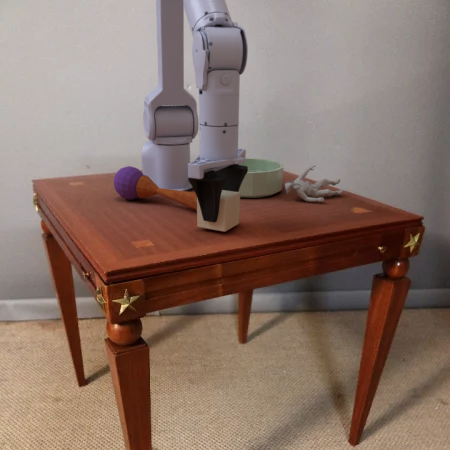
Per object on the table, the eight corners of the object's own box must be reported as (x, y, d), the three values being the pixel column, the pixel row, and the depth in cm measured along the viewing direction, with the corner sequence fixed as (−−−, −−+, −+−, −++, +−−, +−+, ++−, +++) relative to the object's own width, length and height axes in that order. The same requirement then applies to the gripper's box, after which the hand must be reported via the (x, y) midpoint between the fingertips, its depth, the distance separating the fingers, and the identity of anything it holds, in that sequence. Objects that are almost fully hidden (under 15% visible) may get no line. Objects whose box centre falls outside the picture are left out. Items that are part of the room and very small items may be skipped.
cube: (197, 226, 79) (196, 195, 76) (212, 218, 82) (212, 188, 80) (225, 232, 77) (225, 199, 74) (239, 223, 80) (240, 192, 78)
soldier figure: (348, 204, 96) (305, 192, 89) (329, 217, 100) (287, 206, 93) (338, 170, 98) (296, 155, 91) (320, 184, 102) (278, 171, 95)
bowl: (199, 193, 99) (199, 167, 97) (232, 179, 110) (232, 155, 107) (264, 202, 93) (265, 175, 91) (291, 187, 104) (293, 162, 102)
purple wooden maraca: (194, 194, 82) (104, 170, 91) (196, 226, 86) (110, 200, 94) (214, 180, 86) (125, 159, 94) (215, 212, 90) (130, 188, 98)
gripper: (219, 132, 65) (218, 233, 72) (264, 120, 76) (260, 208, 83) (173, 128, 68) (177, 225, 74) (223, 117, 79) (223, 203, 86)
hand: (218, 216), depth 79 cm, fingers closed on cube, 5 cm apart
